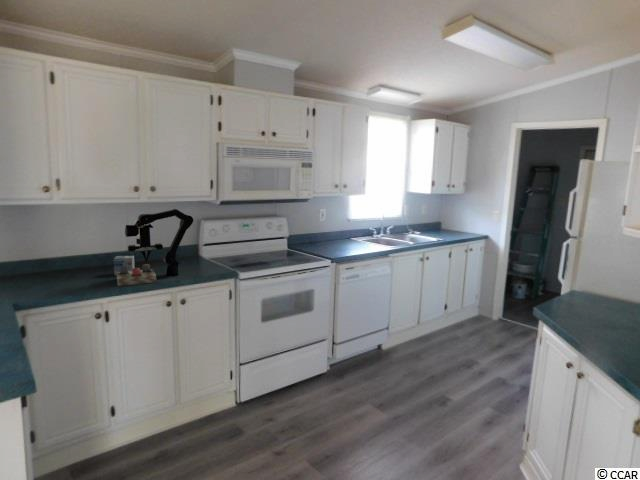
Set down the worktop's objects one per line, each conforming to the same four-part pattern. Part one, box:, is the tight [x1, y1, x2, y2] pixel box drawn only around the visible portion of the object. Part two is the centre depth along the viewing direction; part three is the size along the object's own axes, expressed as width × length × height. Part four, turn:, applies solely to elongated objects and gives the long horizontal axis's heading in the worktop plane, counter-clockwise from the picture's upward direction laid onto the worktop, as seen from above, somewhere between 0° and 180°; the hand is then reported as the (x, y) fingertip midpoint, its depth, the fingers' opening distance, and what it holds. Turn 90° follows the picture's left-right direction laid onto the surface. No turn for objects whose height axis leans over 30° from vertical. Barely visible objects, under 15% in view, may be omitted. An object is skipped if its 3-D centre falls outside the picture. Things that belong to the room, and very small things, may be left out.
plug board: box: [115, 269, 157, 287], centre depth 235 cm, size 20×16×4 cm
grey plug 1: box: [120, 266, 128, 275], centre depth 235 cm, size 4×4×4 cm
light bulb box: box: [113, 255, 136, 276], centre depth 250 cm, size 11×7×11 cm, turn 105°
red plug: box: [132, 267, 141, 277], centre depth 231 cm, size 4×4×4 cm
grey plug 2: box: [142, 263, 151, 273], centre depth 241 cm, size 4×4×4 cm
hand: (146, 261), depth 240 cm, fingers closed
